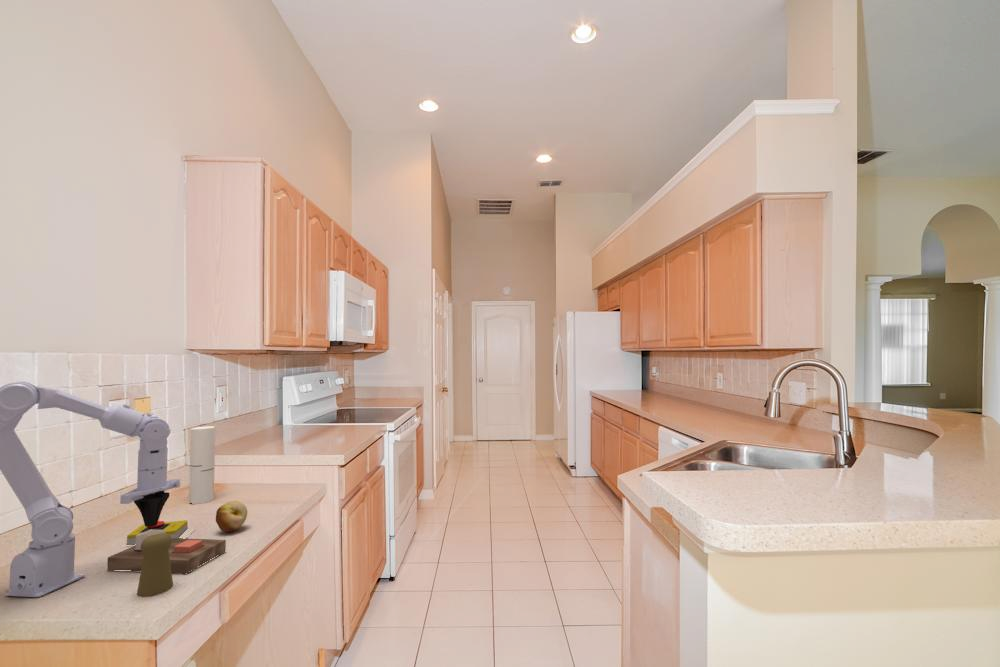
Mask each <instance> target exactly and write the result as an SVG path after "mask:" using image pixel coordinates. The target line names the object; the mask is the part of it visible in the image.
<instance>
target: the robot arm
mask: <svg viewBox="0 0 1000 667" xmlns="http://www.w3.org/2000/svg"><path fill="white" fill-rule="evenodd" d="M35 405H38V406H37V410H42V409H43V410H44V409H53V408H54V409H55V408H56V409H59V410H64V411H68V412H72V413H75V414H78V415H83V416H85V417H88V418H91V419H95V420H97V421H99V423H100V426H101V428H103V429H107V430H110V431H112V432H116V433H118V434H123V435H125V436H129V437H131V438H133V437H138V438H139V449H138V451H137V455H138V456H137V477H136V478H137V483H136V484H137V487H136V488H134V489H132V490H129V491H128V492H126V493H123V494H120V498H119V501H120V502H119V503H120V505H121V504H122V505H123V504H124V505H128V504H132V503H134V504H135V506H136V507H137V509H138V510H139V512H140V514H141V518H142V520H143V523H144V524H145V526H146V527H153V526H155V525H157V523H158V521H160V516H161V513H162V510H163V508H164V506H165V504H166V502H167V500H168V499H169V498H170V492H167V491H168V490H172V489H176V488H179V487H180V486H181V479H180V478H173V479H169V480H167V479H168V449H169V448H168V446H167V445H168V437H169V436H170V434H171V429H170V426H169V424H168V423H167V422H166V420H163V419H162V418H159V417H158V416H153V414H152V413H150V412H147V413H143V412H142V411H138V410H135V409H132V408H131V405H129V404H125V403H123V405H121V404H114V405H113V404H112V405H111V406H105V405H102V404H99V403H97V402H94V401H91V400H88V399H86V398H83V397H80V396H77V395H75V394H71V393H69V392H66V391H63V390H60V389H57V388H52V387H47V386H42V385H36V386H35V385H34V384H32V383H30V382H28V381H27V382H26V381H15V382H11V383H7V384H4V385H2V386H0V472H1V474H2V475H3V477H4V478H5V480H6V481H7V483H8V484H9V486H10V488H11V489H12V491H13V492H14V494H15V496H16V498H17V499H18V501H19V502H20V504H21V505H22V507H23V509H24V510H25V515H26V517H27V519H28V520H27V521H29V524H30V525H31V539H32V540H31V541H29V543H28V547H27V548H26V549H25V550H24V551H22V552H20V553H18V554H17V555H14V557H13V559H11V563H10V566H9V567H10V568H9V570H10V571H9V589H8V590H9V591H7V592H6V593H5V596H7V597H21V598H22V597H26V598H27V597H28V598H40V597H43V596H45V595H47V594H49V593H51V592H53V591H56V590H58V589H60V588H62V587H64V586H67V585H69V584H72V583H73V582H75V581H77V580H80V579H82V578H84V577H86V574H85V573H75V556H76V553H75V550H76V534H75V533H72V532H73V529H74V523H73V520H74V513H73V511H72V510H71V509H70V508H69V507H67V506H65V505H63V504H61V502H60V501H59V499H58V498H57V497H56V496H55V494H54V493H53V492H52V490H51V489H50V487H49V486H48V484H47V482H46V481H45V479H44V477H43V476H42V474H41V472H40V471H39V469H38V468H37V466H36V464H35V462H34V461H33V459H32V458H31V456H30V454H29V452H28V450H26V448H25V446H24V444H23V443H22V441H21V439H20V438H19V436H18V435H17V433H16V431H15V429H16V428H17V426H18V425H19V423H20V421H21V420H22V418H23V416H24V415H25V414H26V413H27V412H28V411H29V410H30V409H32V408H33V407H34V406H35ZM165 491H166V492H165ZM144 524H143V525H144Z"/></svg>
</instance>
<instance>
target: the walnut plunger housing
mask: <svg viewBox="0 0 1000 667" xmlns="http://www.w3.org/2000/svg"><path fill="white" fill-rule="evenodd" d="M186 540H203V545H202V547H201V548H199V549H197V550H195V551H193V552H191V553H174V546H176V545H178V544H180V543H182V542H184V541H186ZM226 543H227V542H226V539H217V538H216V539H213V538H208V539H207V538H187V539H183V538H172V543H171V546H170V548H169V549H168V550H169V558H170V565H171V573H188V572H189V571H191V570H193V569H195V568H197V567H198V566H200V565H202V564H203V563H205V562H207V561H209V560H210V559H212V558H214V557H216V556H217V555H220V554H221V553H223V552H225V551H226V549H227V548H226V545H227V544H226ZM135 546H136V545H135ZM135 546H130V547H129V548H125V549H124V550H122V551H119V552H117V553H115V554H113V555H110V556H108V557H107V568H106V571H107V570H131V571H141V568H142V563H143V557H144V554H143V553H142V551H141V550H135ZM225 553H226V552H225ZM223 554H224V553H223ZM220 556H221V555H220ZM216 558H217V557H216ZM209 562H210V561H209ZM202 566H203V565H202ZM197 569H198V568H197ZM195 570H196V569H195ZM188 574H189V573H188Z"/></svg>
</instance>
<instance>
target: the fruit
mask: <svg viewBox="0 0 1000 667" xmlns="http://www.w3.org/2000/svg"><path fill="white" fill-rule="evenodd" d="M247 517H248V508H247V506H246V505H245V504H244V503H242V502H241V501H236V500H235V501H234V500H233V501H229V502H226V503H224V504H223V505H220V506H219V507H218V509H216V514H215V523H216V524H217V526H218V528H219V530H221V531H223V532H225V533H231V532H234V531H236V530H238V529H239V528H241V527H242V526H243V525H244V523H245V522H246V520H247Z"/></svg>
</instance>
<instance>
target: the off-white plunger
mask: <svg viewBox="0 0 1000 667" xmlns="http://www.w3.org/2000/svg"><path fill="white" fill-rule="evenodd" d="M160 533H165V530H153V529H150V530H148V531H146V532H143V533H141V534H138V535H136V546H135V550H141V544H142V542H143V540H144V539H145V538H147V537H148V536H151V535H154V534H160Z"/></svg>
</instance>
